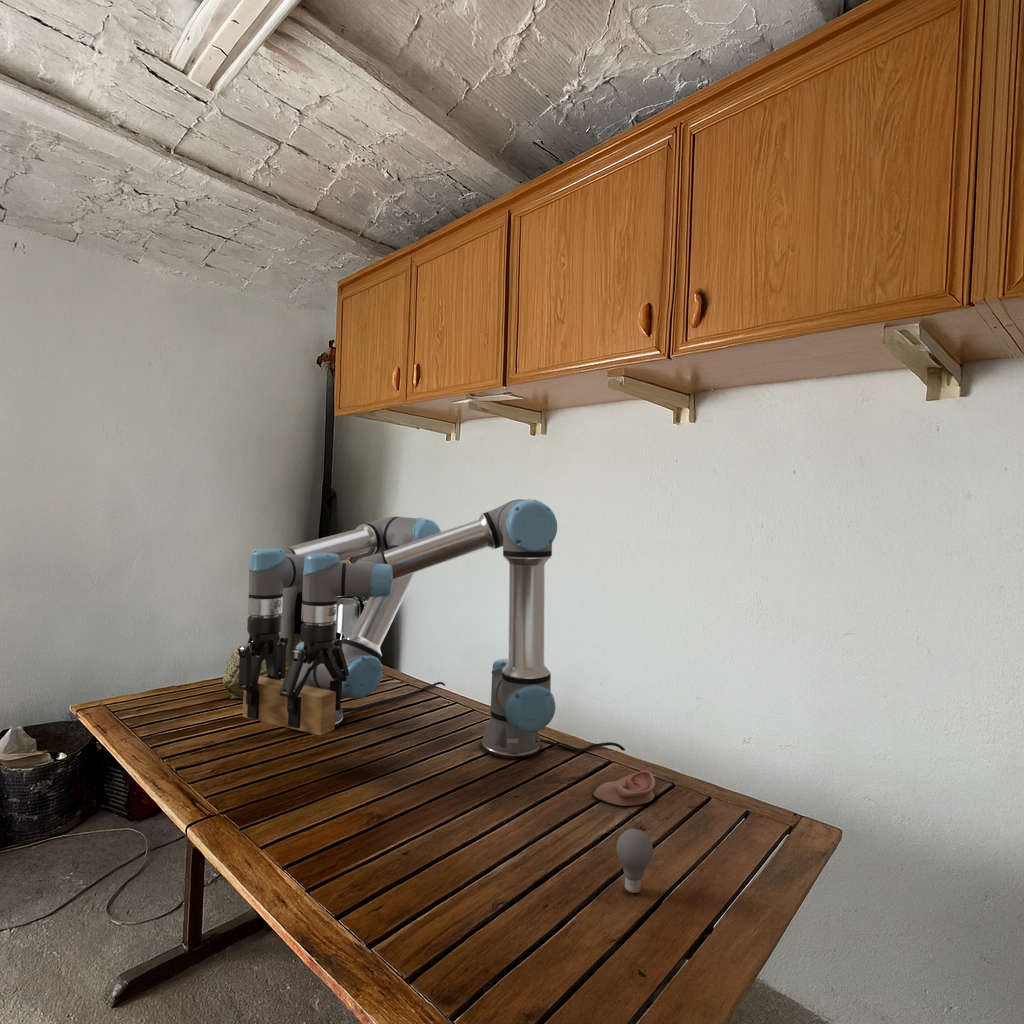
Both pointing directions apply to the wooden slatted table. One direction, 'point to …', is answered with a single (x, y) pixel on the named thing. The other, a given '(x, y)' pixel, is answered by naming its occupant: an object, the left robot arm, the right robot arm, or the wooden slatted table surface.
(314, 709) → the bar
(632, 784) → the anatomical model
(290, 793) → the wooden slatted table surface
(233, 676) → the fossil
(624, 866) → the light bulb
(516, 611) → the right robot arm
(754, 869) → the wooden slatted table surface
